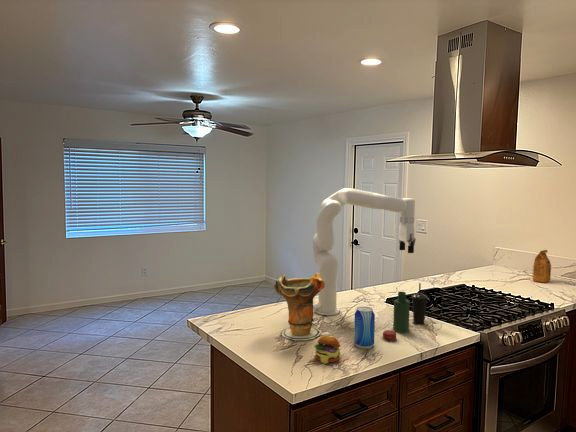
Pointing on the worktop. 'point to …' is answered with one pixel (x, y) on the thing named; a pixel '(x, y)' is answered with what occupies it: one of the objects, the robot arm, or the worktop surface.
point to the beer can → (364, 327)
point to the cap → (389, 335)
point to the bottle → (401, 313)
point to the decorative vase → (300, 305)
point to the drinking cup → (419, 307)
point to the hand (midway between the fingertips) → (406, 251)
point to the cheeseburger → (327, 349)
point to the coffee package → (542, 267)
